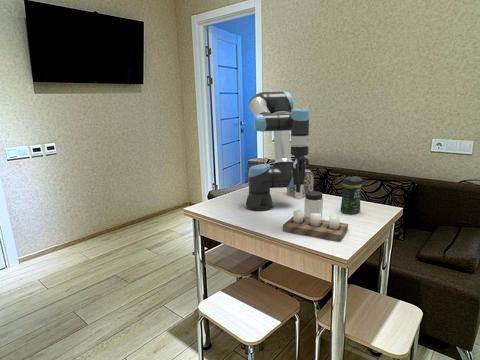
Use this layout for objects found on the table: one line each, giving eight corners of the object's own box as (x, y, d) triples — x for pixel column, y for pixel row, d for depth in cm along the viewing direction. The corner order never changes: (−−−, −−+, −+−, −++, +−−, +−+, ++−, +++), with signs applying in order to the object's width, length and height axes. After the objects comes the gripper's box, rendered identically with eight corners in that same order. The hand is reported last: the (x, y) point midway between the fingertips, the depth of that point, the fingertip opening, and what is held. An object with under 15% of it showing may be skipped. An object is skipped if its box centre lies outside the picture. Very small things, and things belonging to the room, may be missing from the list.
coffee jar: (350, 215, 158) (352, 179, 154) (337, 211, 165) (339, 176, 161) (363, 212, 163) (365, 176, 159) (350, 208, 170) (352, 174, 166)
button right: (327, 229, 135) (327, 217, 134) (330, 225, 139) (330, 214, 138) (337, 230, 133) (338, 219, 132) (340, 227, 137) (340, 216, 136)
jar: (325, 217, 157) (326, 194, 154) (312, 220, 153) (313, 196, 151) (314, 212, 165) (314, 190, 162) (301, 215, 161) (301, 192, 158)
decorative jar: (313, 195, 195) (314, 166, 191) (299, 198, 189) (300, 169, 185) (300, 191, 205) (300, 164, 201) (286, 194, 199) (286, 166, 195)
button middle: (309, 226, 139) (309, 215, 138) (312, 222, 143) (312, 212, 142) (318, 227, 137) (319, 216, 136) (321, 224, 141) (322, 213, 140)
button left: (291, 223, 143) (291, 212, 142) (295, 220, 147) (295, 209, 146) (301, 224, 141) (301, 213, 140) (304, 221, 145) (304, 211, 143)
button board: (282, 231, 141) (282, 224, 140) (294, 221, 153) (294, 214, 152) (340, 241, 128) (340, 234, 128) (347, 230, 140) (348, 223, 140)
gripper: (303, 147, 129) (302, 203, 134) (312, 144, 140) (311, 196, 145) (285, 147, 132) (285, 201, 137) (296, 143, 143) (295, 194, 148)
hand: (298, 198), depth 141 cm, fingers closed
